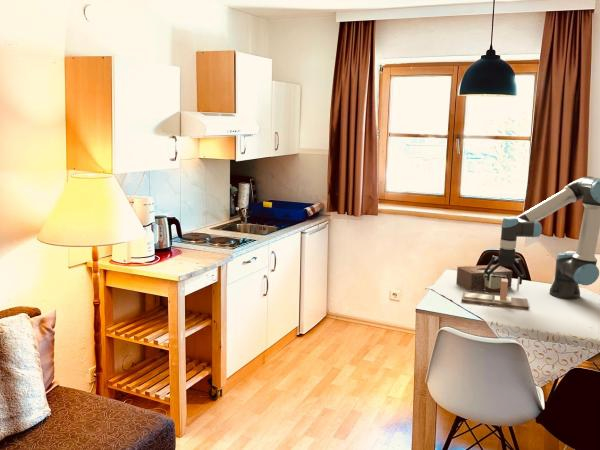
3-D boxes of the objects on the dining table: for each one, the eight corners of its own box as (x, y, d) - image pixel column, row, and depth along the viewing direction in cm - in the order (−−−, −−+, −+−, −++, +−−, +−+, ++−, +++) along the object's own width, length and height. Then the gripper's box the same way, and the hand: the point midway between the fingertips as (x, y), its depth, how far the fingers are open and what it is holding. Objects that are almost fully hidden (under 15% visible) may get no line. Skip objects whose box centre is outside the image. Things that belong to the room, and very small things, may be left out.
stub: (510, 298, 309) (512, 279, 307) (511, 303, 301) (513, 283, 299) (494, 296, 311) (496, 277, 309) (494, 301, 304) (496, 281, 302)
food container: (502, 290, 329) (504, 272, 327) (505, 293, 323) (507, 275, 321) (479, 289, 330) (481, 271, 328) (482, 292, 324) (483, 274, 322)
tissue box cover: (470, 291, 327) (471, 273, 325) (456, 283, 341) (457, 266, 339) (510, 288, 334) (512, 271, 333) (495, 281, 348) (497, 264, 346)
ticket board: (526, 301, 309) (527, 297, 309) (528, 309, 296) (528, 305, 296) (462, 294, 319) (463, 290, 319) (461, 302, 306) (461, 297, 305)
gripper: (533, 249, 301) (529, 289, 305) (481, 244, 308) (478, 283, 312) (534, 252, 294) (529, 293, 298) (481, 246, 301) (477, 287, 305)
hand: (503, 288), depth 305 cm, fingers open, 13 cm apart
